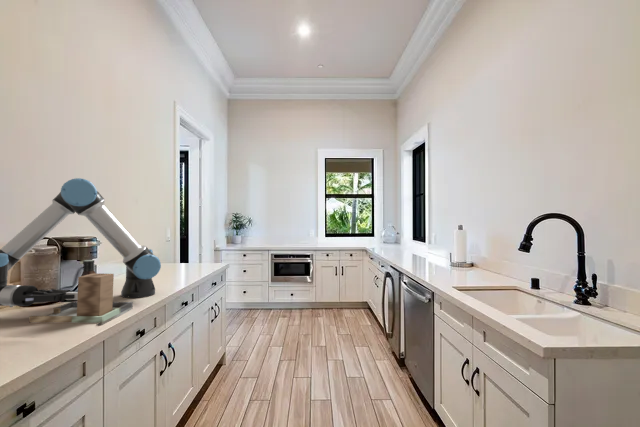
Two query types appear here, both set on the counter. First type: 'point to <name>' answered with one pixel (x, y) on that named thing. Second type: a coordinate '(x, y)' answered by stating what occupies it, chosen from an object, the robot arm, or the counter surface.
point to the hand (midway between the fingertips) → (84, 295)
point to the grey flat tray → (69, 315)
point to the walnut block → (95, 294)
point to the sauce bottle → (88, 267)
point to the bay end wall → (110, 314)
